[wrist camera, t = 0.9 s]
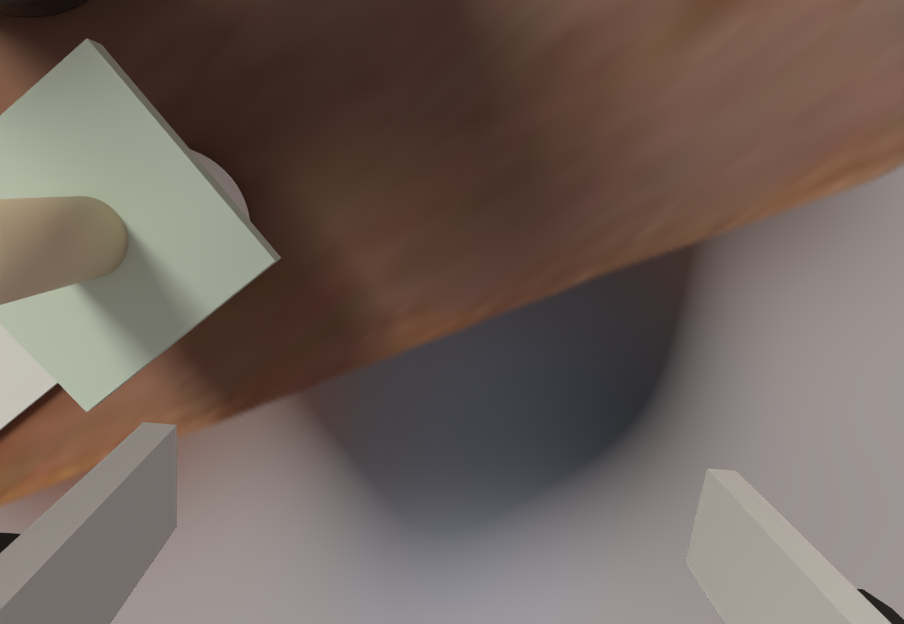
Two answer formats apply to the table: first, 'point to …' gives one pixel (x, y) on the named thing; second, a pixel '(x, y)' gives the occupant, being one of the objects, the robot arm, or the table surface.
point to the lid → (109, 229)
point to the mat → (19, 379)
